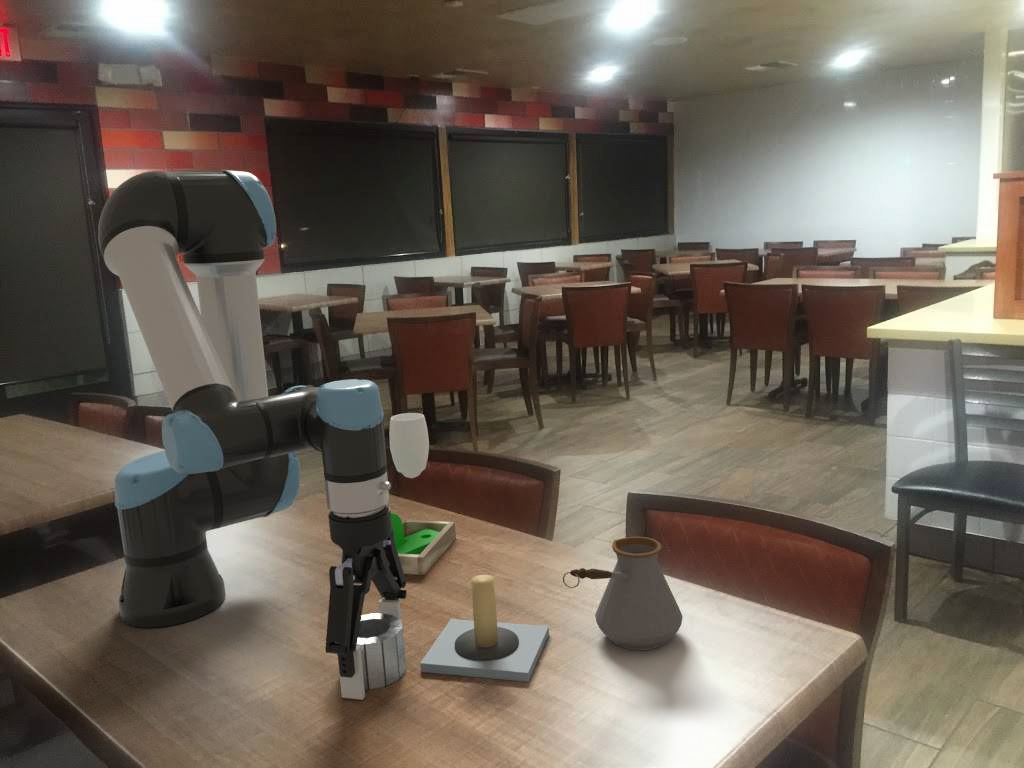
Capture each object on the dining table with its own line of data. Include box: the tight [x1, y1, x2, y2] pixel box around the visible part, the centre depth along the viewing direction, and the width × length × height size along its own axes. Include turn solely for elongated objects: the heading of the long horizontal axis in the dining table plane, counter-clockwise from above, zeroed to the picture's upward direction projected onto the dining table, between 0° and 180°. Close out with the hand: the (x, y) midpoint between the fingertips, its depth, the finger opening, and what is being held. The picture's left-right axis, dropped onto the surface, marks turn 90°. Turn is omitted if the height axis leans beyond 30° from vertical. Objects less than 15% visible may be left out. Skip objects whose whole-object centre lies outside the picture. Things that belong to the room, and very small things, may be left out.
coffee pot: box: [562, 536, 684, 651], centre depth 107 cm, size 21×12×15 cm, turn 142°
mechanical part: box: [391, 512, 440, 555], centre depth 143 cm, size 12×6×8 cm, turn 134°
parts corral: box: [398, 519, 457, 576], centre depth 144 cm, size 10×16×3 cm, turn 165°
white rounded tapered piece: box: [388, 412, 430, 479], centre depth 157 cm, size 7×7×21 cm
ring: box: [356, 612, 407, 691], centre depth 106 cm, size 8×8×6 cm
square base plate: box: [419, 574, 550, 683], centre depth 109 cm, size 14×12×10 cm
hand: (374, 670), depth 107 cm, fingers open, 12 cm apart
